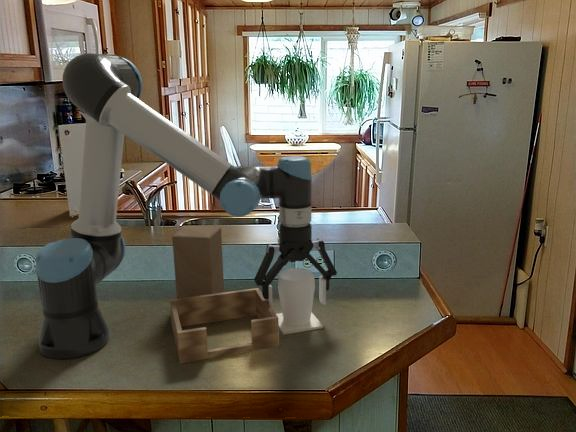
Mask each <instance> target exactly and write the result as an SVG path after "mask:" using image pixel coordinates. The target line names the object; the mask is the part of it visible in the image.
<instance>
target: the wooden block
mask: <svg viewBox="0 0 576 432" xmlns="http://www.w3.org/2000/svg"><path fill="white" fill-rule="evenodd" d="M171 239H172V251H173V252H172V253H173V254H172V255H173V265H174V277H175V278H174V279H175V291H176V292H175V293H176V299H179V298H187V297H194V296H201V295H209V294H216V293H224V292H225V281H224V280H225V279H224V262H223V261H224V260H223V242H222V227H220V226H202V225H185V227H183V228H181V229H180V230H179V231H178V232H176V233H175V234H174V235H172V237H171Z"/></svg>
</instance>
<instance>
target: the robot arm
mask: <svg viewBox="0 0 576 432" xmlns="http://www.w3.org/2000/svg"><path fill="white" fill-rule="evenodd" d="M62 87H63V91H64V93H65V95H66V97H67V99H68V100H69V101H70V102H71V104H73V105H74V106H75V107H76V108H77V109H78V110H79V114H81V116H82V117H83V118H84V119H85V123H86V130H85V143H84V156H83V169H82V182H81V195H80V208H79V216H78V218H77V219H76V220H74V221H73V222H72V223H71V226H70V234H69V235H70V236H69V238H63V239H58V240H57V241H52V242H49V243H47V244H46V245H43V246H42V247H41V248H40V249H39V250H38V251H37V252H36V256H35V274H36V277H37V284H38V289H39V296H40V303H41V307H42V317H43V318H42V322H41V326H40V332H39V336H38V348H39V352H40V354H41V355H43V356H45V357H46V358H49V359H56V360H65V359H67V360H68V359H74V358H80V357H83V356H87V355H89V354H93V353H94V352H96V351H98V350H100V349H102V348H103V347H104V346H106V344H108V342H109V341H110V338H111V336H110V334H111V333H110V327H109V325H108V323H107V320H106V319H105V317H104V315H103V312H102V311H101V309H100V307H99V301H98V300H99V299H98V292H97V286H98V284H99V283H100V282H102V281H103V280H104V279H106V277H107V276H109V275H110V274H112V273H113V272H114V271H115V270H116V269H118V267H119V266H120V264H121V263H122V261H123V260H124V257H125V256H126V255H125V254H126V242H125V239H124V237H122V226H121V225H120V224H119V223H118V221H117V213H118V203H119V193H120V184H121V183H120V181H121V171H122V165H123V164H122V163H123V152H124V143H125V136H126V137H128V138H129V139H131V140H132V141H134V142H135V143H136V144H138V145H139V146H140V147H142V148H144V149H145V150H146V151H148V152H149V153H151V154H152V155H154V156H155V157H156V158H158V159H159V160H161V161H162V162H163V163H165V164H167V165H168V166H169V167H171V168H173V169H174V170H176V171H177V172H178V173H179V174H180V175H182V176H184V177H185V178H187V179H188V180H190V181H192V182H193V183H194V184H196V185H197V186H198V187H200V188H202V189H203V190H204V191H206V192H207V193H209V194H210V195H211V196H213V197H214V198H216V199H217V200H218V201H219V202H220V206H221V207H222V209H223V210H224V212H226V214H228V215H230V216H233V217H236V218H239V217H240V218H241V217H245V216H248V215H249V214H250V213H252V212H253V211H254V210H255V209H256V208H257V207H258V206H259V203H260V201H261V199H270V200H272V199H274V200H275V199H278V206H279V208H278V209H279V210H278V211H279V212H278V213H279V214H278V215H279V217H278V218H279V220H278V221H279V223H280V224H279V242H278V243H279V244H278V245H277V244H276V245H273V244H271V243H267V245H266V250H265V254H264V257H263V259H262V261H261V263H260V266H259V268H258V270H257V273H256V274H255V277H254V279H253V280H254V283H255V284H256V286H257V287H261V293H262V295H263V297H264V299H266V300H267V302H268V303H269V305H270V306H271V308H272V309H273V308H274V307H273V303H274V302H273V286H272V285H271V284H272V282H273V281H274V280H275V279H276V277H278V274H279V273H280V272H281V271H282V269H283V268H284V267H285V266H287V264H288V263H289V262H290V263H296V262H304V260H306V259H307V260H308V262H309V263H311V265H312V266H313V267H314V268H315V269H316V270H317V271H318V272H319V273H320V274H321V275H319V276H318V301H319V303H321V305H323V306H324V305H327V291H329V290H330V280H331V279H332V277H333V276H337V274H338V272H337V270H336V268H335V266H334V264H333V262H332V260H331V258H330V256H329V255H328V253H327V250H326V245H325V242H324V240H322V239H321V238H319V237H318V238H316V240H313V241H312V237H313V236H312V231H313V230H312V229H313V228H312V227H313V226H312V225H313V224H311V222H312V190H313V189H312V184H313V183H312V180H313V179H312V162H311V161H310V159H309V158H308V157H306V156H300V155H290V156H289V155H288V156H282V157H279V159H278V163H277V165H271V166H270V165H269V166H268V165H267V166H266V165H263V166H262V165H232V163H230V162H229V161H227V160H226V159H224V158H223V157H222V156H220V155H219V154H217V153H216V152H214V151H213V150H212V149H211V148H209V147H207V146H206V145H204V144H203V143H201V142H200V141H199V140H198V139H196V138H194V137H193V136H192V135H191V134H189V133H187V131H184V129H182V128H180V126H177V125H176V124H174V123H173V122H172V121H170V120H169V119H168V118H166V117H165V116H164V115H163V114H160V113H159V112H158V111H157V110H155V109H153V108H152V107H151V106H149V105H148V104H146V102H143V100H141V99H140V98H141V95H142V93H143V90H144V89H143V88H144V82H143V77H142V75H141V73H140V71H139V69H138V67H137V66H136V65H135V64H134V63H133V62H131V61H130V60H128V58H125V57H122V56H118V55H116V54H104V53H103V54H101V53H100V54H99V53H93V52H91V53H90V52H89V53H88V52H87V53H83V54H79V55H77V56H75V57H74V58H72V59H70V61H69V62H68V63H67V64H66V66H65V68H64V70H63V72H62ZM314 248H315V249H316V250H317V251H318V253H319V255H320V258H321V259H322V261H323V263H324V265H325V266H326V268H327V270H325V269H324V267H323V266H322V265H321V264H320V263H319V262H318V261H317V260H316V259H315V258H314V257H313V256H312V255H311V251H312V250H313V249H314ZM278 251H279V252H280V254H279V256H278V257H277V259H276V261H275V262H274V264H273V265H272V266H271V263H272V262H273V260H274V256H275V255H276V254H277V252H278ZM270 267H271V268H270ZM269 268H270V269H269ZM273 310H274V309H273Z"/></svg>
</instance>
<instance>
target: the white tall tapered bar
mask: <svg viewBox="0 0 576 432" xmlns="http://www.w3.org/2000/svg"><path fill="white" fill-rule="evenodd" d="M57 128H58V132H59V133H58V134H59V143H60V149H61V156H62V159H61V160H62V166H63V173H64V180H65V189H66V197H67V204H68V211H69V212H68V213H69V217H70V216H71V215H76V214H79V208H80V195H81V182H82V169H83V156H84V143H85V130H86V122H85V123H73V124H71V123H70V124H61V125H60V124H58V125H57ZM65 131H68V132H69V134H68V135H66V134H65ZM74 210H75V211H77V212H75V211H74Z"/></svg>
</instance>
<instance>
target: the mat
mask: <svg viewBox="0 0 576 432" xmlns="http://www.w3.org/2000/svg"><path fill="white" fill-rule="evenodd" d="M275 314H276V315H277V317H278V321H279V331H280V332H281V334H282V335H289V334H293V333H294V334H296V333H300V332H301V333H302V332H307V331H314V330H320V329H323V328H324V326H323V324H322V323H321V322H320V321H319V319H318V318H317V317H316V316H315V314H314V313H313V312H312V311H311V318H310V322H309V323H307V324H305V325H301V326H292V325H288V324H286V323H285V322H284V321H283V315H282V312H280V313H275Z"/></svg>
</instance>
